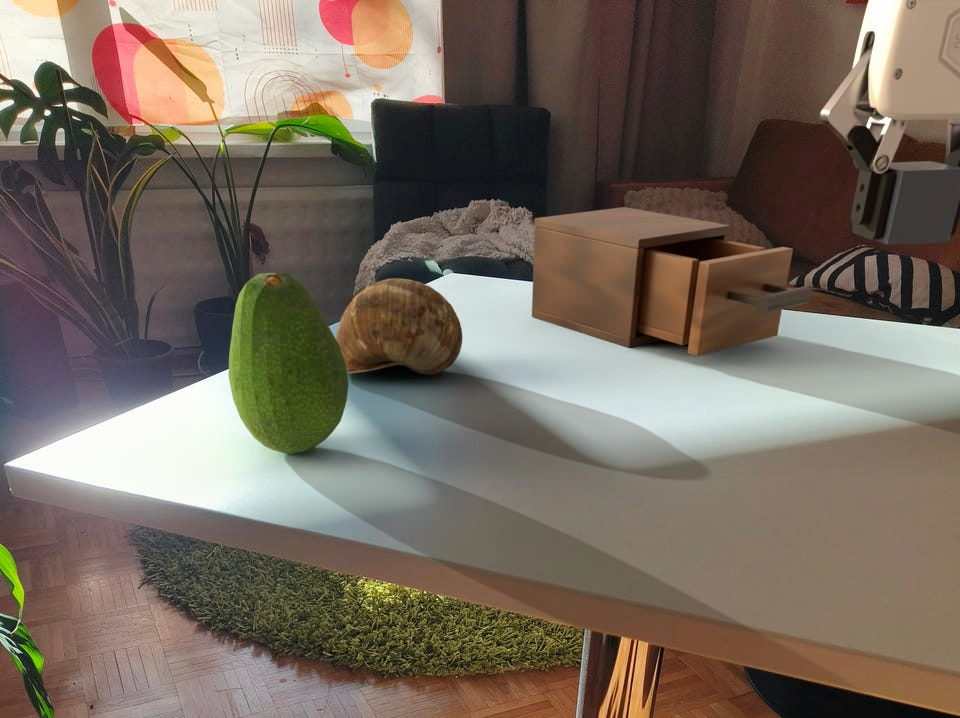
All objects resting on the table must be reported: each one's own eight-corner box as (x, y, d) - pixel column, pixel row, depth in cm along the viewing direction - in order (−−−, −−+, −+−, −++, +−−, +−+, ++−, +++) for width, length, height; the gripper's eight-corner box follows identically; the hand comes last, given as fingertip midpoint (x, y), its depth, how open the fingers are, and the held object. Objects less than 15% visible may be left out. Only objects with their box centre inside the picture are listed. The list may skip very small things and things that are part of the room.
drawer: (819, 346, 82) (838, 256, 78) (738, 369, 77) (754, 273, 72) (672, 308, 94) (682, 228, 90) (593, 324, 89) (599, 240, 84)
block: (914, 230, 63) (930, 161, 61) (949, 242, 60) (967, 168, 57) (856, 233, 63) (869, 163, 61) (887, 245, 59) (903, 171, 57)
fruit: (375, 440, 65) (363, 265, 58) (315, 480, 59) (294, 290, 52) (283, 423, 68) (262, 255, 61) (217, 460, 62) (185, 278, 55)
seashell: (478, 366, 80) (479, 272, 76) (435, 398, 73) (432, 296, 69) (368, 352, 84) (361, 261, 79) (316, 381, 77) (306, 283, 72)
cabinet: (716, 327, 91) (731, 225, 86) (628, 347, 85) (639, 239, 80) (616, 300, 101) (624, 207, 96) (531, 316, 95) (534, 218, 90)
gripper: (871, -118, 47) (807, 250, 57) (1164, -121, 49) (1051, 239, 59) (811, -100, 53) (763, 230, 64) (1072, -103, 55) (984, 220, 65)
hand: (902, 231), depth 61 cm, fingers closed on block, 4 cm apart
